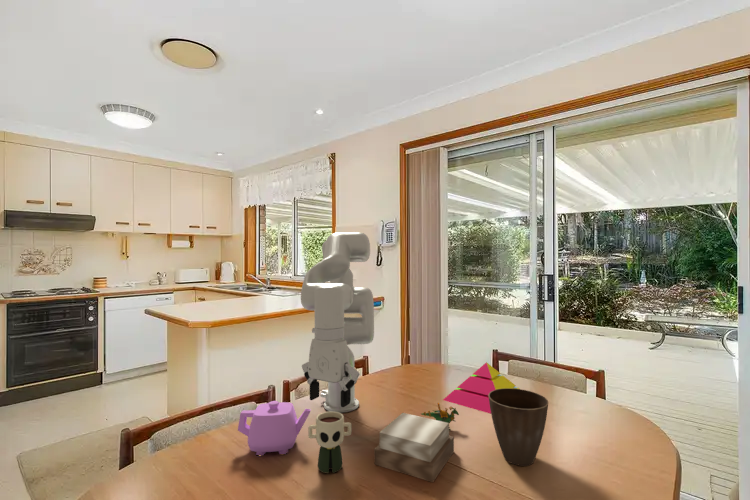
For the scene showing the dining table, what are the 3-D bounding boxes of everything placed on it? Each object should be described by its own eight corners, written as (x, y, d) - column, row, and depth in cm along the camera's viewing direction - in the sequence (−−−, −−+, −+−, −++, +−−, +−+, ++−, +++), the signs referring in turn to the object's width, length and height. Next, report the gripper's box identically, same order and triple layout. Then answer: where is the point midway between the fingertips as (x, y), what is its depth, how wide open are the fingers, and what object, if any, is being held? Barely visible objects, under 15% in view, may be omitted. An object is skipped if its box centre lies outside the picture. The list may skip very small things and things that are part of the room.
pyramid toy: (532, 398, 143) (531, 361, 143) (506, 421, 124) (505, 377, 124) (471, 384, 159) (471, 350, 159) (440, 401, 140) (440, 363, 140)
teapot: (232, 461, 99) (232, 413, 99) (243, 438, 112) (243, 395, 112) (309, 456, 102) (309, 409, 102) (312, 434, 114) (311, 392, 114)
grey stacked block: (374, 464, 98) (374, 433, 98) (401, 437, 111) (401, 410, 112) (432, 482, 90) (432, 448, 90) (453, 451, 104) (453, 422, 104)
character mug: (308, 478, 92) (307, 424, 92) (308, 462, 99) (308, 412, 99) (352, 474, 93) (352, 421, 93) (350, 458, 100) (350, 409, 100)
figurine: (460, 430, 116) (460, 404, 116) (421, 431, 115) (421, 404, 115) (457, 426, 119) (457, 400, 119) (419, 427, 118) (419, 401, 119)
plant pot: (482, 443, 108) (482, 387, 108) (535, 444, 107) (534, 387, 107) (498, 474, 93) (497, 409, 93) (559, 474, 92) (558, 409, 93)
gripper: (293, 333, 97) (293, 400, 97) (349, 339, 89) (350, 413, 88) (312, 328, 104) (312, 391, 103) (366, 334, 95) (366, 403, 95)
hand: (329, 401), depth 96 cm, fingers open, 9 cm apart
